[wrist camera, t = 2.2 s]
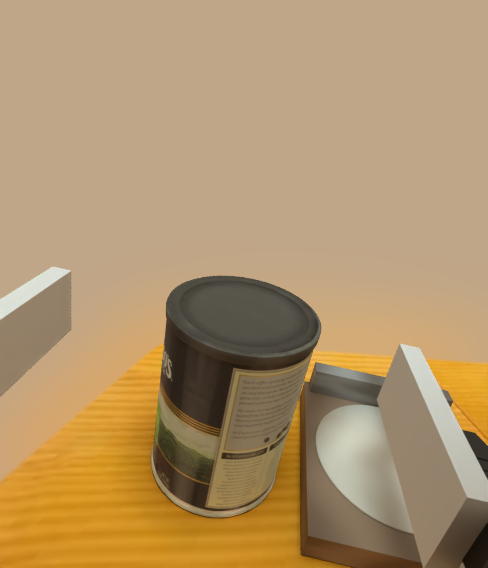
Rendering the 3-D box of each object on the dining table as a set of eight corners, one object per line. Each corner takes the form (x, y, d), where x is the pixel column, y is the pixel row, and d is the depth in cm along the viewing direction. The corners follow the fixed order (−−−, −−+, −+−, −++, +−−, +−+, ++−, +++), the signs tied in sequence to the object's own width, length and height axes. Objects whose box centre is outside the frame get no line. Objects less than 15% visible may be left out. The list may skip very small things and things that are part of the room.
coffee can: (131, 504, 27) (144, 333, 22) (170, 403, 37) (186, 264, 31) (276, 533, 27) (330, 370, 21) (278, 425, 37) (315, 290, 31)
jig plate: (435, 426, 40) (452, 392, 38) (512, 605, 26) (547, 564, 24) (300, 396, 41) (310, 361, 39) (300, 554, 26) (317, 510, 24)
